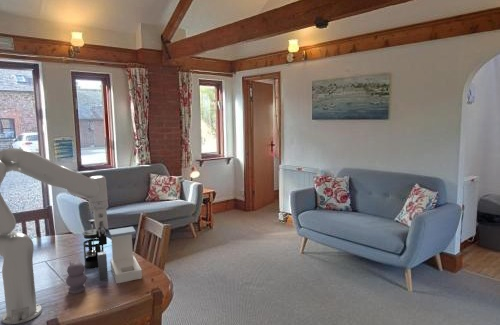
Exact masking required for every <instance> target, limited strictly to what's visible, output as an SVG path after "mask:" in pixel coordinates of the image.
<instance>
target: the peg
mask: <svg viewBox="0 0 500 325" xmlns="http://www.w3.org/2000/svg"><path fill="white" fill-rule="evenodd" d="M97 254H98V268H97V269H98V278H99V282H101V281H107V280H109V277H108V276H109V275H108V274H109V273H108V261H107V260H108V258H107V252H106V251H104V252H99V253H97Z"/></svg>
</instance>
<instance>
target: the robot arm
mask: <svg viewBox="0 0 500 325" xmlns="http://www.w3.org/2000/svg"><path fill="white" fill-rule="evenodd" d="M12 171H13V172H19V173H21V174H22V175H25V176H28V177H29V178H33V179H34V180H36V181H39V182H41V183H44V184H45V185H49V186H51V187H57V188H62V189H65V190H66V191H67V192H68V193H69V195H72V196H74V197H79V198H84V199H88V204H89V205H88V206H89V209H90V210H92V213H93V215H92V216H93V219H94V222H93V223H94V227H95V229H96V233H97V238H98V239H99V241H98V243H99V245H100V246H102V245H103V246H105V245H107V244H108V238H107V233H106V231H109V223H108V222H109V221H108V214H107V208H108V207H109V201H108V187H107V178H106V176H104V175H93V176H89V177H88V176H86V175H84V174H82V173H79V172H77V171H74V170H72V169H70V168H68V167H65V166H63V165H60V164H58V163H56V162H53V161H51V160H49V159H47V158H46V157H43V156H42V155H40V154H38V153H36V152H34V151H32V150H30V149H26V148H17V147H15V148H6V149H2V150H1V149H0V187H1V186H2V184H3V183H2V182H3V181H4V179H5V177H6V176H7V173H8V172H12ZM16 224H17V221H16V217H15V216H14V213H13V212H12V211H11V209H10V207H9V206H8V204H7V202H6V201H5V199H4V197H3V196H2V193H1V192H0V256H1V258H3V261H2V268H1V274H2V275H1V276H2V282H3V283H2V284H3V292H4V300H5V312H4V313H3V314H2V316H1V322H2V323H4V324H6V325H19V324H23V323H27V322H28V321H31V320H33V319H35V318H37V317H38V316H39V315H40V314H41V313H42V310H43V308H42V306H41V304H38V303H37V295H36V294H37V293H36V284H35V275H34V274H35V273H34V264H33V263H34V262H33V259H34V258H33V257H34V250H35V249H34V247H35V246H34V241H33V240H32V238H31V237H30V236H29V235H27V234H26V233H23V232H20V231H18V230H14V229H15V228H16Z"/></svg>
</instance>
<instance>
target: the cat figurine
mask: <svg viewBox="0 0 500 325" xmlns="http://www.w3.org/2000/svg"><path fill="white" fill-rule="evenodd" d="M84 265H85V264H83V263H82V262H79V261H75V262H72V261H69V265H68V267H67V269H66V272H67V274H68V275H67V277H66V280H65V283H66V285H67V286H68V293H69V294H79V293H82V292H84V291H85V290H86V285H85V284H86V282H87V279H88V278H87V275H86V273H85V269H86V268H85V267H84Z"/></svg>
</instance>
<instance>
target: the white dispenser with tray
mask: <svg viewBox="0 0 500 325" xmlns="http://www.w3.org/2000/svg"><path fill="white" fill-rule="evenodd" d="M108 234H109V236H110V238H111V246H112V247H111V250H112V259H110V269H111V272H112V275H113V277H114V280H115V283H116V284H123V283H126V282H131V281H134V280H141V279H142V278H143V272H142V271H143V269H142V267H141V266H140V264H139V262H138V261H137V259H136V256H135V255H134V252H133V250H134V249H133V235H135V234H137V231H136V230H135V228H134V226H128V227H127V226H126V227H120V228H114V229H108Z"/></svg>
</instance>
